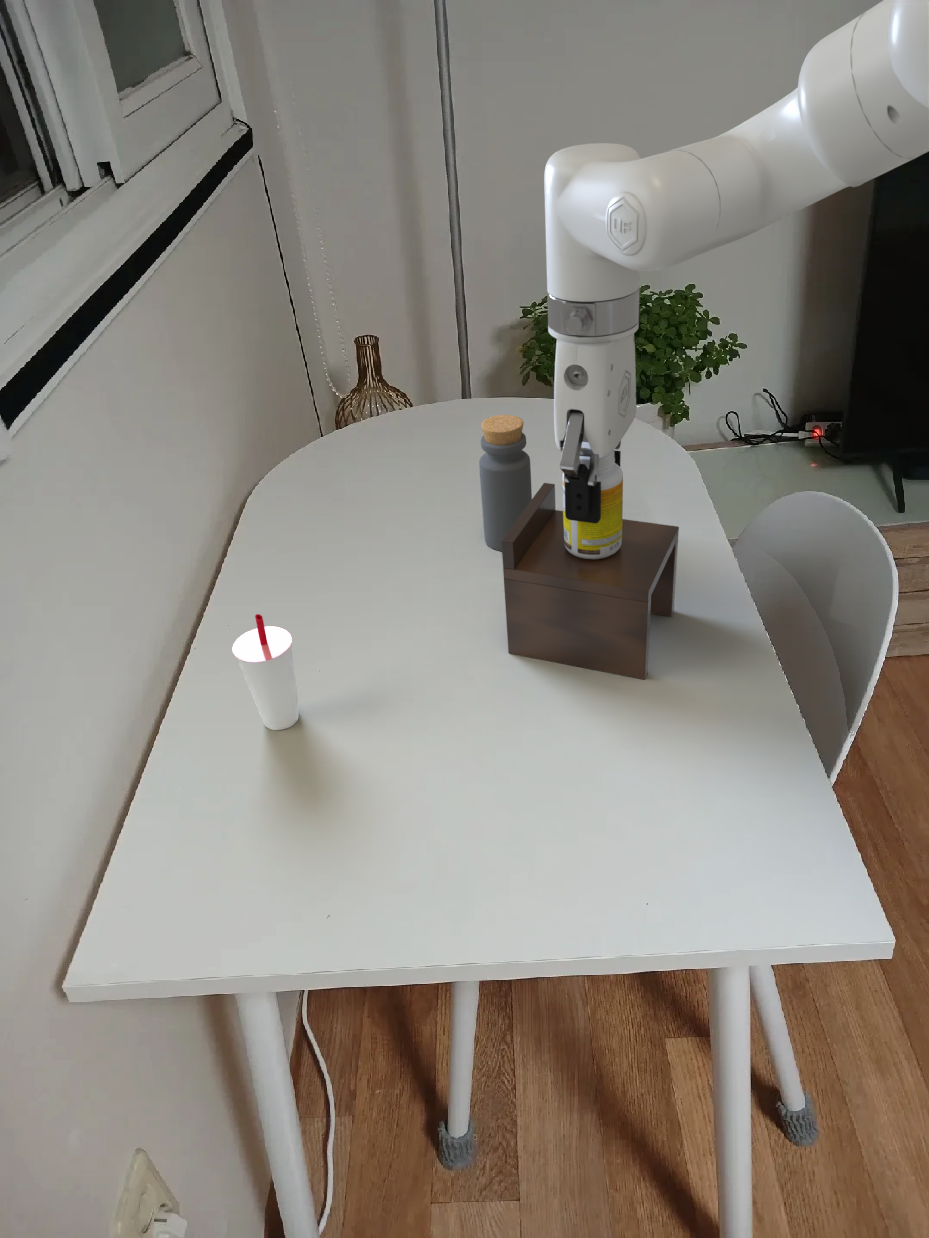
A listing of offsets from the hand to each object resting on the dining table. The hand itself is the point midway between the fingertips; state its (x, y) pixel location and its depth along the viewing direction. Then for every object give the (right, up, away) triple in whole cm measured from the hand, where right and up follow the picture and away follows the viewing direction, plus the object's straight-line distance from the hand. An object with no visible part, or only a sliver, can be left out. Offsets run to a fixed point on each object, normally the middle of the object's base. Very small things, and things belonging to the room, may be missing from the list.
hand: (593, 502), depth 89 cm
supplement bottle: (0, -4, +3) cm, 5 cm away
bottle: (-7, -2, +25) cm, 26 cm away
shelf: (+1, -12, +9) cm, 15 cm away
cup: (-29, -21, +1) cm, 36 cm away
